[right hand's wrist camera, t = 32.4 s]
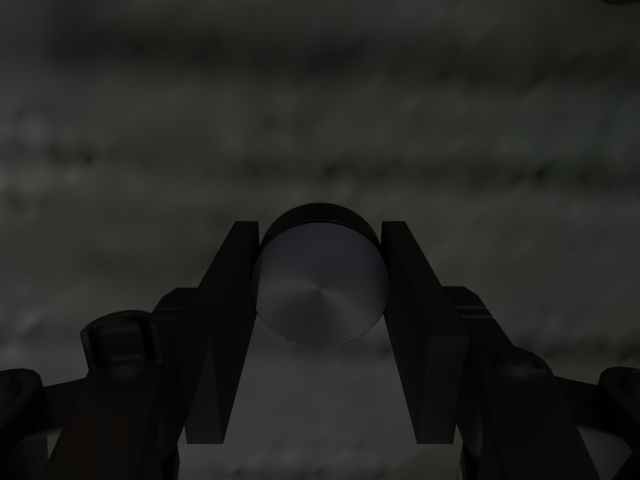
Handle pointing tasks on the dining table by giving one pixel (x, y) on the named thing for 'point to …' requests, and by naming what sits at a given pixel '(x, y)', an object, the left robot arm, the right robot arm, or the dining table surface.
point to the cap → (320, 276)
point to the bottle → (621, 2)
